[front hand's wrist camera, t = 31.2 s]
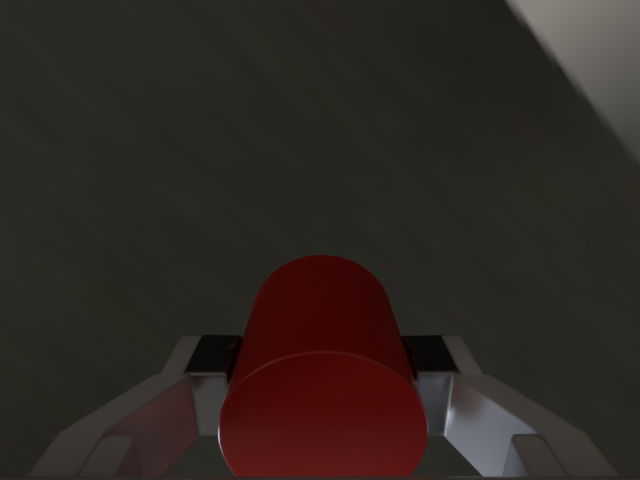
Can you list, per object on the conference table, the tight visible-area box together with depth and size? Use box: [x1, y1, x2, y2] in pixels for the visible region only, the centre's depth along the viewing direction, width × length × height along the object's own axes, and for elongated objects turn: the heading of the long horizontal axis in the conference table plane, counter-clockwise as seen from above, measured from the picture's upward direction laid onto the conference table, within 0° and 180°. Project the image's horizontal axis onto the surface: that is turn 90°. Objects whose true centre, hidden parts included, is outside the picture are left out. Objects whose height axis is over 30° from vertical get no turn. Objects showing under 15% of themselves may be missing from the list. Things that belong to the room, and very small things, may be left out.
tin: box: [217, 255, 428, 476], centre depth 10 cm, size 4×4×4 cm
